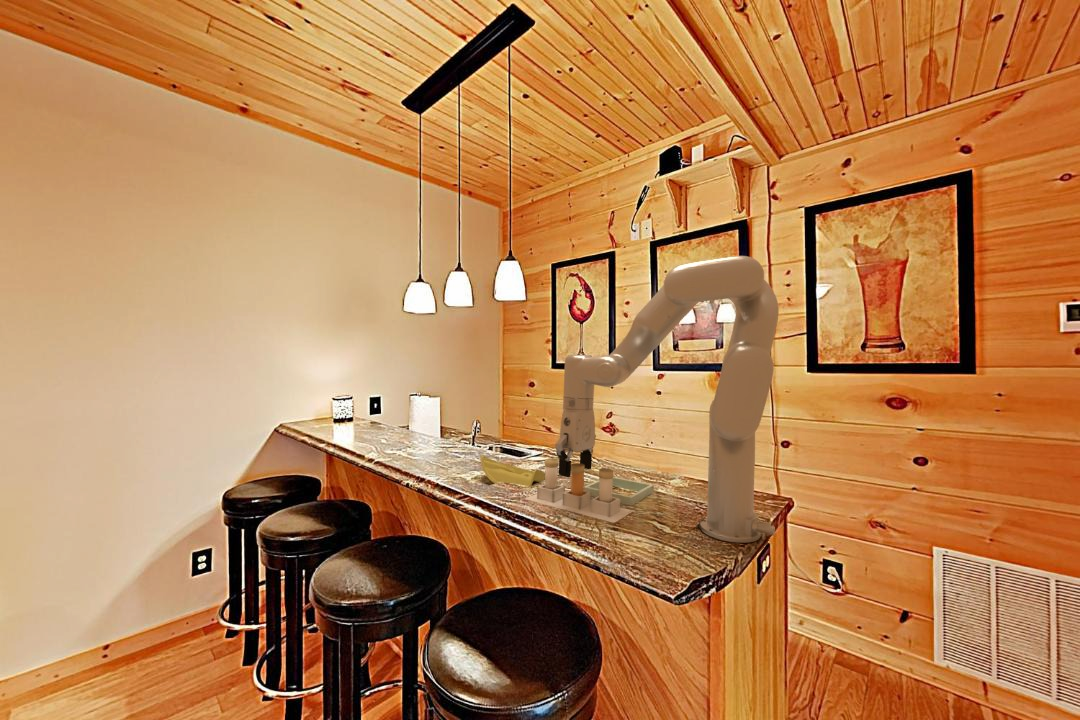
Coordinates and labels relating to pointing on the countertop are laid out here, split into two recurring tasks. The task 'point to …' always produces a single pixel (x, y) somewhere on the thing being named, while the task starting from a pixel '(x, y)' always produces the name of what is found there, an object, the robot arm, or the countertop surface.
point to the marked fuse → (577, 479)
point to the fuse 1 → (551, 473)
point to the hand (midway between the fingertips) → (575, 472)
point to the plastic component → (510, 473)
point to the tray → (641, 487)
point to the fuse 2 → (605, 485)
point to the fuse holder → (580, 503)
